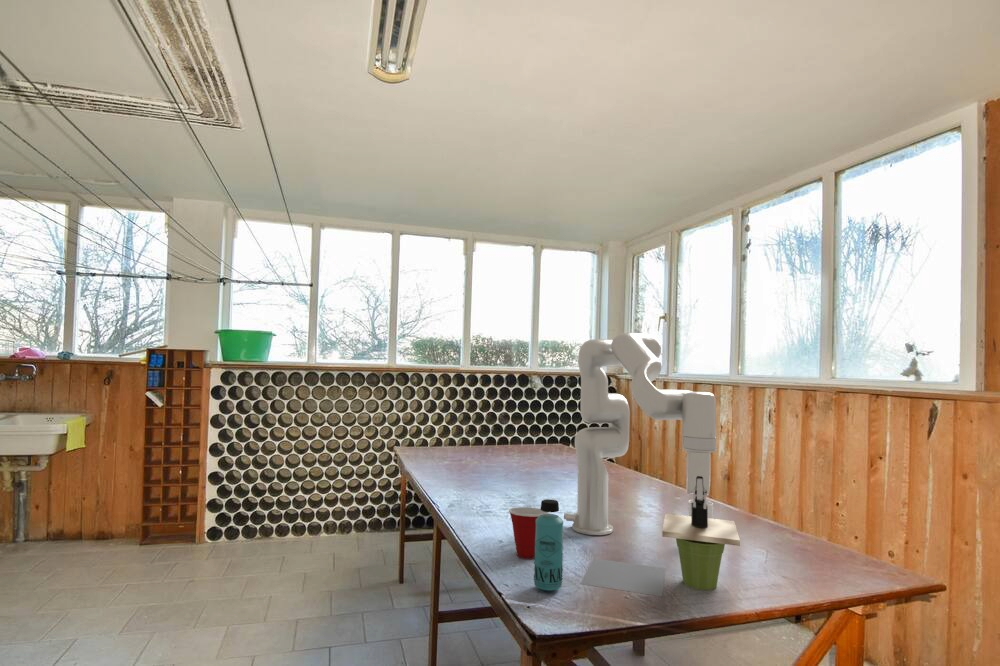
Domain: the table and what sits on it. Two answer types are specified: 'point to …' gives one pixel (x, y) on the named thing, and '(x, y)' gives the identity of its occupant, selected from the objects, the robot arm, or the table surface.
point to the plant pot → (700, 563)
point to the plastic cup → (525, 530)
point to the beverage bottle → (548, 548)
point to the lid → (700, 529)
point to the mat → (625, 577)
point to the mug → (710, 508)
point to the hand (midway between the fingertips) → (699, 522)
